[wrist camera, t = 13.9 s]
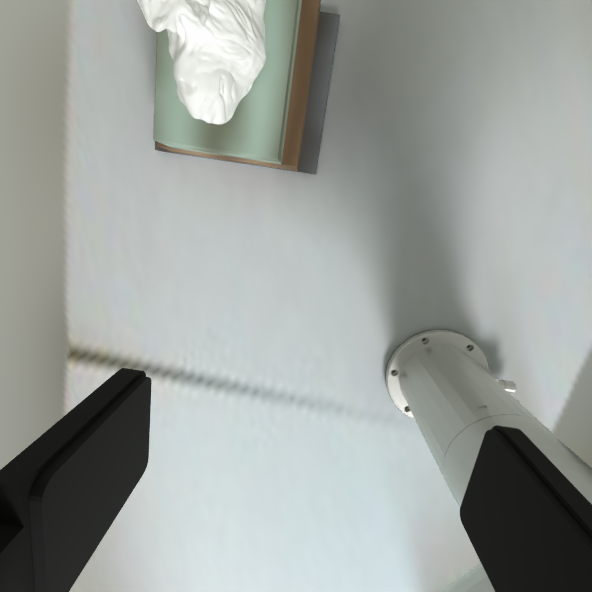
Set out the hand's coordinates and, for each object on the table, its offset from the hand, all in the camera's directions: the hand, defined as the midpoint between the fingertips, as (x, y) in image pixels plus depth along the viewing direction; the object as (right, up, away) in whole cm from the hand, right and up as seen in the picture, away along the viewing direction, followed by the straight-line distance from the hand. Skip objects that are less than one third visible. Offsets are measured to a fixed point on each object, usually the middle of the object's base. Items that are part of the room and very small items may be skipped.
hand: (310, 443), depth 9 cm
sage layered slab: (-6, +26, +27) cm, 38 cm away
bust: (-6, +24, +19) cm, 31 cm away
